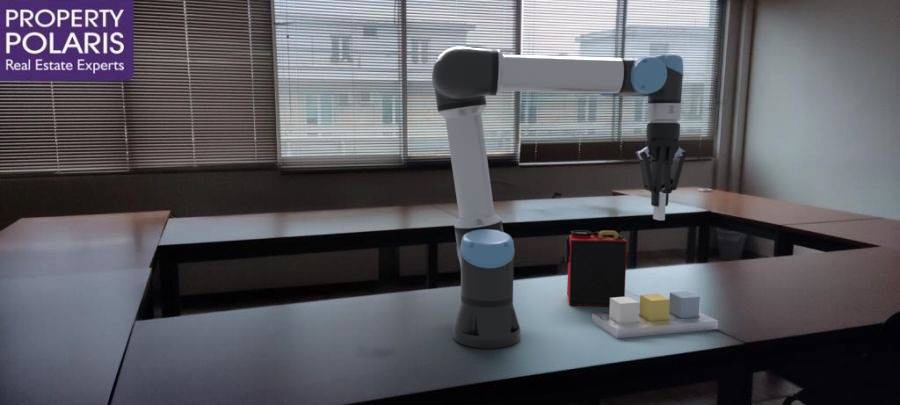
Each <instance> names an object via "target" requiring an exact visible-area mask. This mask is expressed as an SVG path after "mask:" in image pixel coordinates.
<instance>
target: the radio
mask: <svg viewBox="0 0 900 405" xmlns="http://www.w3.org/2000/svg"><path fill="white" fill-rule="evenodd" d="M627 244H628V242H627V240H626V239H625V237H624V235H621V233H618V232H617V231H616V230H600V231H595V232H592V231H589V230H584V229H583V230H581V229H576V230H570V234H569V235H568V237H565V244H564V245H565V246H564V256H565V259H564V261H565V263H567V283H566V284H567V287H566V288H567V289H566V294H567V302H568V305H569V306H593V307H594V306H595V307H610V298H614V297H626V295H625V294H626V271H627V270H626V269H627V247H628V246H627Z"/></svg>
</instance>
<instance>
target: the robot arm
mask: <svg viewBox="0 0 900 405" xmlns="http://www.w3.org/2000/svg"><path fill="white" fill-rule="evenodd" d="M432 70H433V71H432V75H431V78H432V79H431V80H432V86H433V88H434V94H435V102H436V108H437V113H438V115H440V116H441V117H443V118H444V120H445V125H446V132H447V133H446V134H447V140H448V147H449V153H450V155H449V156H450V160H451V161H450V162H451V169H452V176H453V181H454V182H453V183H454V189H455V195H456V196H455V197H456V203H457V204H456V205H457V211H458V219H457V220H456V222H455V223H454V224H453V225H454V226H453V227H454V234H455V235H454V236H455V241H456V252H457V253H456V254H457V258H458V260H459V265H460V304H459V307H458V310H457V313H456V317H455V320H454V322H453V325H452V338H453V340H455V342H457V343H458V344H461V345H463V346H467V347H471V348H475V349H488V350H489V349H501V348H507V347H510V346H513V345H515V344H517V343H518V342H519V341H520V340H521V326H520V323H519V320H518V316H517V312H516V310H515V307H514V260H515V259H514V256H515V249H516V248H515V246H514V240H513V239H514V238H512V236H511V235H510V234H508V233H506V232H504V227H503V221H502V217H501V216H499V215H498V214H496V212H495V209H494V208H495V206H494V200H493V199H494V198H493V193H492V192H493V191H492V185H491V177H490V169H489V163H488V155H487V148H486V140H485V132H484V126H483V118H482V117H483V116H482V114H483V112H484V110H485V108H486V107H487V98H486V96H496V97H497V96H498V95H499V94H500V93H501V92H534V93H535V92H538V93H540V92H541V93H583V94H585V93H587V94H599V95H600V96H602V97H611V98H614V97H626V98H627V97H630V98H631V97H647V112H646V113H647V114H646V120H647V121H649V122H648V123H647V124H646V139H647V140H646V142H645V145H644V148H642V149H641V150H637V151H636V152H635V156H636V157H637V160H638V161H639V165H640V166H639V167H640V172H641V178H642V184H643V189H644V190H645V191H648V192H649V193H650V195H651V197H650V198H651V200H650V205H651V206H652V207H653V210H652V213H653V214H652V219H653V220H657V221H665V220H666V207H668V205H669V197H670V196H669V194H671V193H673V191H676V190H677V188H678V185H679V180H680V177H681V173H682V169H683V165H684V162H685V159H686V158H687V156H688V155H689V153H688V152H689V151H687V150H684V149H682V148H681V147H680V143H679V139H680V136H681V124H680V123H679V122H678V121H680V120H681V116H682V115H681V114H682V113H681V112H682V111H681V110H682V92H683V81H684V80H683V79H684V62H683V57H682V56H680V55H678V54H658V55H653V56H642V57H640V58H639V57H638V58H637V57H636V58H635V57H632V58H631V57H607V56H606V57H605V56H604V57H600V56H599V57H597V56H567V55H566V56H563V55H559V56H558V55H533V54H532V55H530V54H529V55H527V54H525V55H523V54H522V55H521V54H503V53H502V51H501V50H500V49H491V48H480V47H479V48H478V47H470V46H462V45H461V46H460V45H458V46H452V47H450V48H447V49H446V50H444V51H443V52H442V53H440V55H439V56H438V57H437V58H436V60H435V63H434V65H433V68H432ZM649 157H650V158H649Z"/></svg>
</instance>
